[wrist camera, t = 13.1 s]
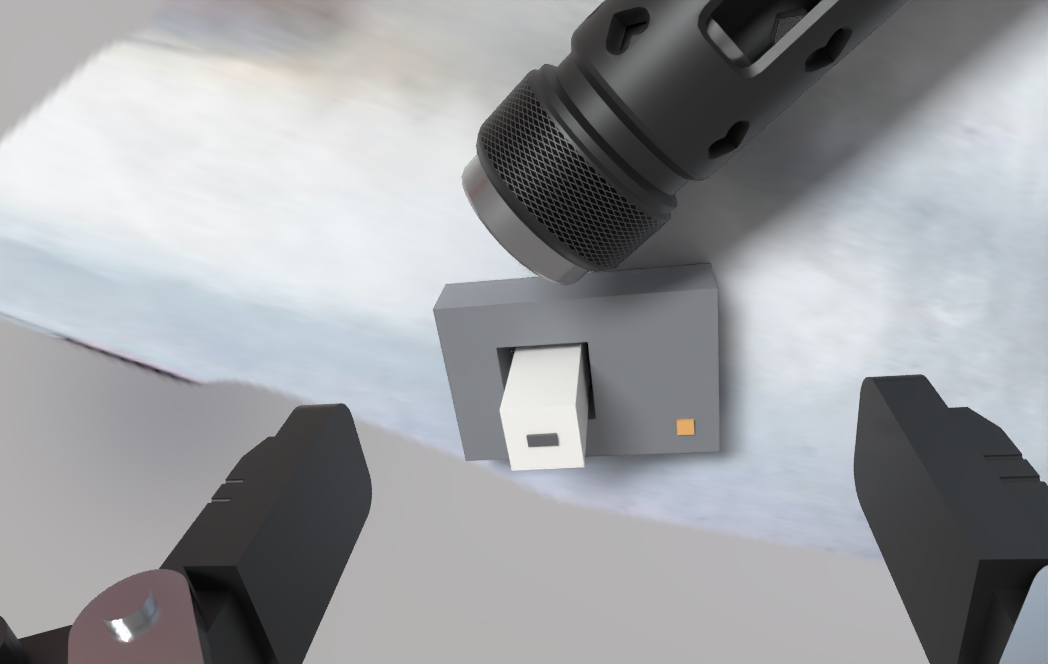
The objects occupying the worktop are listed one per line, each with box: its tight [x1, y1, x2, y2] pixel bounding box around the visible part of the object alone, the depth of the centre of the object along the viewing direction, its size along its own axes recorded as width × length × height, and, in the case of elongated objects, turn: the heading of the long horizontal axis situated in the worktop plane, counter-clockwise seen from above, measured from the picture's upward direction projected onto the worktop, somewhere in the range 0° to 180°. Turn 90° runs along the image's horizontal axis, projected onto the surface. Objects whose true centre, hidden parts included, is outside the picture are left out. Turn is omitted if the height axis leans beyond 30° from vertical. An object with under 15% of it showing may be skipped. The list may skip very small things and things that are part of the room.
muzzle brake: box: [462, 0, 908, 286], centre depth 30 cm, size 10×28×10 cm, turn 137°
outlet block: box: [433, 263, 720, 461], centre depth 43 cm, size 16×11×4 cm
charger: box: [500, 342, 590, 471], centre depth 41 cm, size 4×4×9 cm
